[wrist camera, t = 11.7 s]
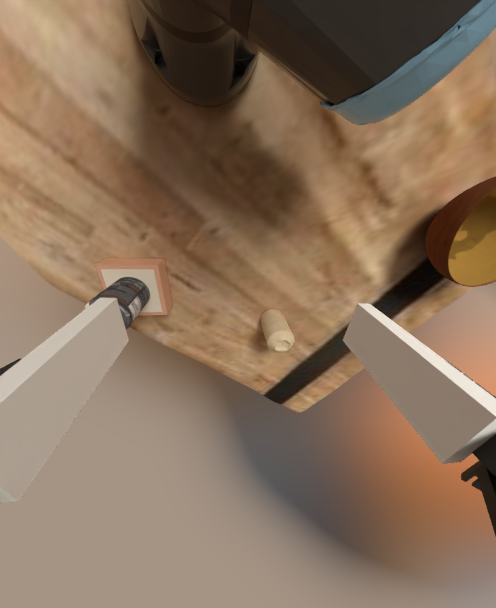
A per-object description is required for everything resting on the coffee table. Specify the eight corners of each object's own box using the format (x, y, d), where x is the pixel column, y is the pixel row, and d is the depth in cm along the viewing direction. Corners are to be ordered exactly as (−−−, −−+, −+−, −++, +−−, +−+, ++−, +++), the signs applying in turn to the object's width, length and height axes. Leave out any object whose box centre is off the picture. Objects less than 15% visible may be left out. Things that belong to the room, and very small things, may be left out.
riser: (107, 258, 35) (93, 264, 31) (164, 258, 36) (157, 265, 32) (122, 305, 40) (112, 316, 36) (172, 305, 41) (167, 315, 37)
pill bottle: (107, 288, 33) (56, 325, 23) (131, 269, 32) (88, 299, 22) (135, 311, 36) (100, 353, 26) (158, 294, 35) (131, 332, 25)
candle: (261, 329, 46) (269, 359, 37) (259, 310, 43) (267, 338, 35) (283, 326, 46) (296, 355, 38) (282, 306, 44) (297, 333, 35)
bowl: (505, 210, 38) (588, 213, 29) (428, 282, 44) (478, 302, 36) (461, 150, 32) (549, 131, 23) (381, 243, 39) (426, 255, 30)
